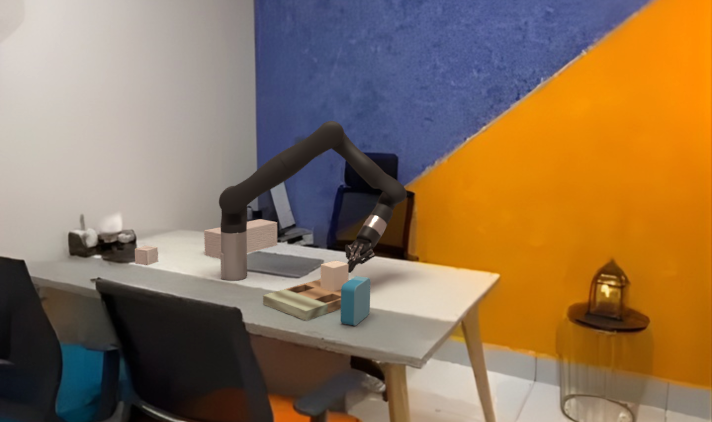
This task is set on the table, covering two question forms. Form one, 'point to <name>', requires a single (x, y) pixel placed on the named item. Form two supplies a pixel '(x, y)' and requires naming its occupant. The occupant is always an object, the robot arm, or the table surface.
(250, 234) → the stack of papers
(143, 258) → the pale pink cube
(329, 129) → the robot arm
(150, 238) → the table surface
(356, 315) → the data package
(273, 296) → the board
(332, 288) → the block
